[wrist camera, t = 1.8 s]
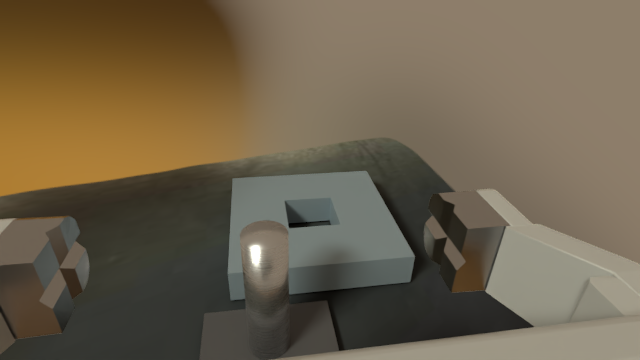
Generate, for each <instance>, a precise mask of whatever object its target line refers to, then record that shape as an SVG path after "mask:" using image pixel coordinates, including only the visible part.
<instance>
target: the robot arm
mask: <svg viewBox="0 0 640 360" xmlns="http://www.w3.org/2000/svg"><path fill="white" fill-rule="evenodd" d="M428 209H429V211H430V212H431V214H432V215H433V216H432V217H431V218H430V219H429V220H428V221H427V222H426V223H425V229H424V244H425V248H426V251H427V254H428V255H429V257H430V259H431V260H432V261H434V262H435V263H437V264H439V265H440V271H439V274H440V275H441V277H442V278H443V280H444V282H445V283H446V285H447V286H448V288H449V290H450V291H451V293H454V292H467V291H480V290H486V292H487V293H488V294H489V295H491V296H492V297H494V298H495V299H496V300H498V301H499V302H501V303H502V304H504V305H505V306H506V307H508V308H509V309H511V310H512V311H513V312H515V313H516V314H518V315H519V316H520V317H522V318H523V319H525V320H526V321H528V322H529V323H530V324H532V325H533V326H535V327H533V328H525V329H516V330H508V331H500V332H492V333H484V334H475V335H467V336H459V337H451V338H443V339H435V340H426V341H418V342H410V343H402V344H394V345H385V346H377V347H369V348H361V349H352V350H344V351H336V352H328V353H319V354H311V355H303V356H295V357H286V358H278V359H270V360H640V264H639V263H636V262H633V261H631V260H629V259H626V258H624V257H621V256H619V255H616V254H614V253H611V252H609V251H606V250H603V249H601V248H598V247H596V246H593V245H591V244H588V243H586V242H583V241H581V240H578V239H576V238H573V237H571V236H568V235H566V234H563V233H561V232H558V231H556V230H553V229H551V228H548V227H545V226H543V225H540V224H532V223H531V222H530V221H529V220H528V219H527V218H526V217H524V216H523V215H522V214H521V213H520V212H519V211H518V210H517V209H516V208H515V207H514V206H513V205H511V204H510V203H509V202H508V201H507V200H506V199H505V198H504V197H503V196H502V195H500V193H498V192H497V191H496V190H494V189H481V190H472V191H462V192H450V193H439V194H433V195H432V197H431V199H430V202H429V207H428ZM79 234H80V231H79V228H78V225H77V223H76V220H75V219H74V218H72V217H71V216H58V217H35V218H19V219H17V218H11V219H0V354H1V353H2V352H3V351H5V350H6V349H7V348H8V347H9V346H10V345H12V344H13V343H14V342H15V339H20V338H28V337H36V336H44V335H51V334H59V333H63V331H64V329H65V327H66V325H67V323H68V321H69V319H70V317H71V315H72V313H73V311H74V309H75V306H74V303H73V300H72V299H73V298H75V297H76V296H77V295H79V294H80V293H82V292H83V290H84V288H85V286H86V284H87V282H88V276H89V269H90V267H89V258H88V255H87V252H86V249H85V248H84V247H82V246H81V245H80V244H78V243H77V242H76V239H77V237H78V235H79Z"/></svg>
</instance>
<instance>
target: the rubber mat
mask: <svg viewBox="0 0 640 360" xmlns="http://www.w3.org/2000/svg"><path fill="white" fill-rule="evenodd" d="M289 321H290V344H289V348H288V350H287V351H286V352H285V353H284V354H283V355H282V356H281V357H279V358H286V357H295V356H303V355H311V354H319V353H328V352H336V351H339V348H338V344H337V340H336V335H335V331H334V327H333V323H332V319H331V315H330V311H329V306H328V302H327V300H326V301H316V302H307V303H298V304H289ZM277 359H278V358H277ZM199 360H262V359H259V358H257V357H256V356H254V355H253V354H252V352H251V350H250V347H249V337H248V325H247V314H246V309H241V310H232V311H223V312H213V313H204V322H203V331H202V340H201V350H200V359H199Z"/></svg>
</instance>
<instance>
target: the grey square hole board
mask: <svg viewBox="0 0 640 360" xmlns="http://www.w3.org/2000/svg"><path fill="white" fill-rule="evenodd" d="M263 220H270V221H275V222H278V223H281V224H282V225H284V226H285V227H286V228H287V230H288V242H289V294H298V293H308V292H318V291H328V290H337V289H347V288H357V287H366V286H376V285H386V284H396V283H405V282H410V281H411V275H412V270H413V265H414V259H415V255H414V254H413V252H412V250H411V248H410V247H409V245H408V243H407V241H406V240H405V238H404V236H403V234H402V233H401V231H400V229H399V227H398V226H397V224H396V222H395V220H394V219H393V217H392V215H391V213H390V212H389V210H388V208H387V206H386V205H385V203H384V201H383V199H382V198H381V196H380V194H379V192H378V190H377V189H376V187H375V185H374V183H373V182H372V180H371V178H370V176H369V175H368V173H367V171H357V172H339V173H321V174H303V175H285V176H267V177H249V178H233V182H232V201H231V221H230V241H229V260H228V280H229V288H230V297H231V300H240V299H245V291H244V279H243V267H242V256H241V244H240V233H241V231H242V229H243V228H244V227H246V226H247V225H249V224H251V223H253V222H257V221H263ZM327 220H330V223H331V225H326V226H313V227H300V228H289V226H288V223H300V222H313V221H327Z"/></svg>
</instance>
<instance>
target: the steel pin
mask: <svg viewBox="0 0 640 360" xmlns="http://www.w3.org/2000/svg"><path fill="white" fill-rule="evenodd" d="M240 244H241V256H242V267H243V279H244V291H245V302H246V314H247V325H248V337H249V347H250V350H251V352H252V354H253V355H254V356H256V357H257V358H259V359H262V360H270V359H277V358H279V357H281V356H282V355H283V354H284V353H285V352H286V351H287V350H288V348H289V344H290V321H289V242H288V230H287V228H286V227H285V226H284V225H282V224H281V223H278V222H275V221H270V220H263V221H257V222H253V223H251V224H249V225H247V226H246V227H244V228H243V229H242V231H241V233H240Z"/></svg>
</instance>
